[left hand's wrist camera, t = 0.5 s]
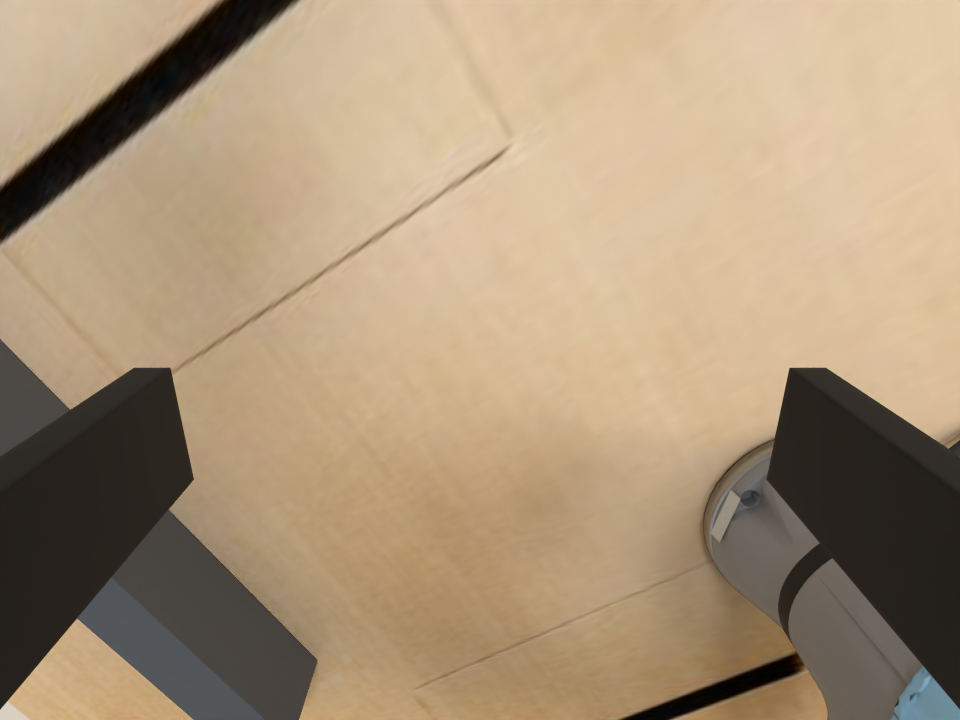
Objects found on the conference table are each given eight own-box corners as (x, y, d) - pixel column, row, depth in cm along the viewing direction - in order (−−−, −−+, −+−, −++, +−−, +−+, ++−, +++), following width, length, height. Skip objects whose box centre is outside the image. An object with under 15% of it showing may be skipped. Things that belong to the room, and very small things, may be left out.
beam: (-246, 176, 36) (-422, 185, 29) (-202, 135, 36) (-372, 134, 28) (277, 680, 52) (245, 765, 45) (317, 660, 51) (291, 744, 44)
